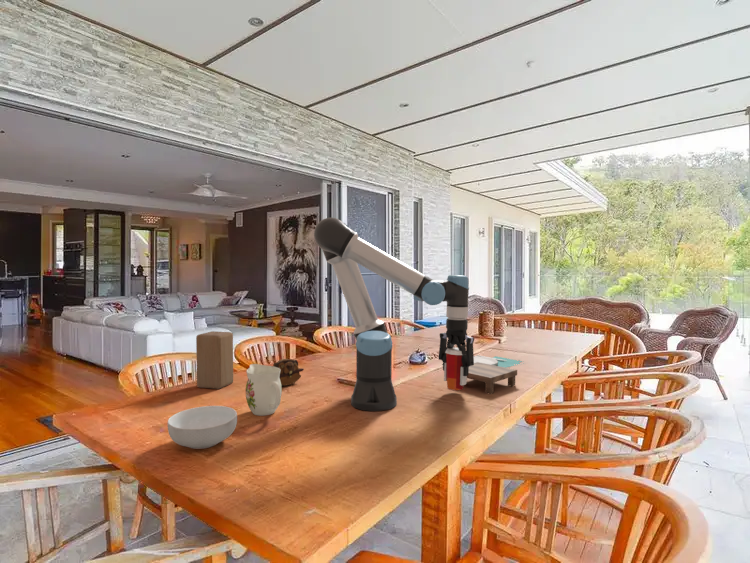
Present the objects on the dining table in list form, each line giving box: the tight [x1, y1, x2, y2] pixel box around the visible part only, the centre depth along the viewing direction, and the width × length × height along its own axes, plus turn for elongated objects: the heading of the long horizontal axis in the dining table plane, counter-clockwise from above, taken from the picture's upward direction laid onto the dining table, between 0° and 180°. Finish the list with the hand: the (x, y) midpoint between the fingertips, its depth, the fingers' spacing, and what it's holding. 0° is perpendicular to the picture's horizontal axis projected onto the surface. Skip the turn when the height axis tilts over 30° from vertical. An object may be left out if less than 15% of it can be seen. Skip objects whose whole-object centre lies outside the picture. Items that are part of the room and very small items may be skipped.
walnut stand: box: [467, 362, 518, 395], centre depth 168 cm, size 18×18×6 cm
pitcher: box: [245, 363, 283, 417], centre depth 136 cm, size 11×18×14 cm, turn 41°
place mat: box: [474, 354, 522, 368], centre depth 206 cm, size 45×30×2 cm
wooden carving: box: [272, 358, 305, 387], centre depth 167 cm, size 16×5×10 cm, turn 143°
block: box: [195, 330, 234, 390], centre depth 167 cm, size 10×10×20 cm
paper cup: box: [445, 347, 466, 391], centre depth 157 cm, size 8×8×14 cm
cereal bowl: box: [166, 405, 238, 450], centre depth 113 cm, size 17×17×7 cm
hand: (455, 382), depth 157 cm, fingers closed on paper cup, 6 cm apart
